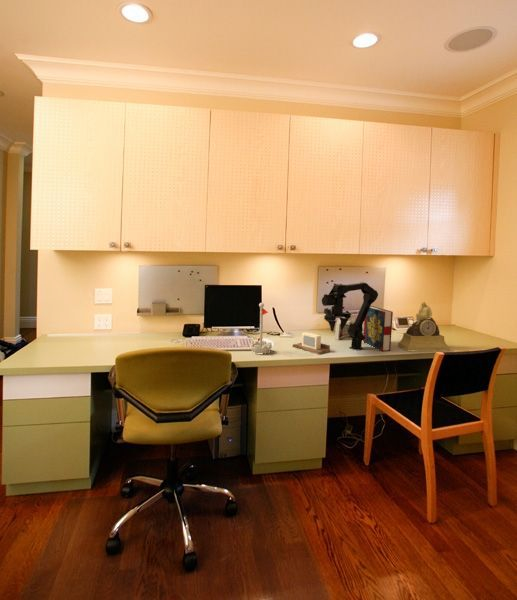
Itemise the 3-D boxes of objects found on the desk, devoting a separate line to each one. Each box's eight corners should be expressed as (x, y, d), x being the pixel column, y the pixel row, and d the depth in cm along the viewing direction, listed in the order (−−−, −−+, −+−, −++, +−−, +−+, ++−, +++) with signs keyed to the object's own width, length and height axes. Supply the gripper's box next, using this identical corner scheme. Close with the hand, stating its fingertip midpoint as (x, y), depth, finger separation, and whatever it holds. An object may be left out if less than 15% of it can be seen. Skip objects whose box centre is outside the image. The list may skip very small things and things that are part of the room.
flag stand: (245, 352, 236) (246, 302, 232) (259, 348, 246) (260, 300, 242) (261, 356, 227) (262, 305, 223) (275, 352, 237) (277, 302, 233)
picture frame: (306, 344, 250) (306, 332, 249) (320, 348, 241) (321, 335, 240) (301, 345, 247) (301, 333, 246) (315, 349, 238) (316, 336, 237)
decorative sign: (349, 337, 289) (351, 317, 289) (352, 337, 288) (354, 317, 287) (334, 339, 271) (336, 318, 270) (337, 340, 270) (339, 318, 269)
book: (361, 342, 266) (362, 305, 263) (370, 341, 268) (372, 305, 264) (381, 351, 242) (383, 312, 238) (391, 351, 243) (393, 311, 240)
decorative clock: (407, 351, 244) (410, 303, 240) (397, 346, 257) (400, 300, 253) (449, 350, 247) (453, 303, 243) (438, 345, 260) (442, 300, 256)
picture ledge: (303, 344, 256) (303, 338, 255) (329, 351, 239) (329, 345, 239) (292, 346, 249) (292, 340, 249) (318, 354, 233) (319, 347, 232)
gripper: (337, 302, 250) (336, 326, 252) (317, 304, 238) (316, 329, 240) (351, 304, 241) (350, 329, 243) (332, 307, 229) (331, 333, 232)
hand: (337, 330), depth 240 cm, fingers open, 9 cm apart
